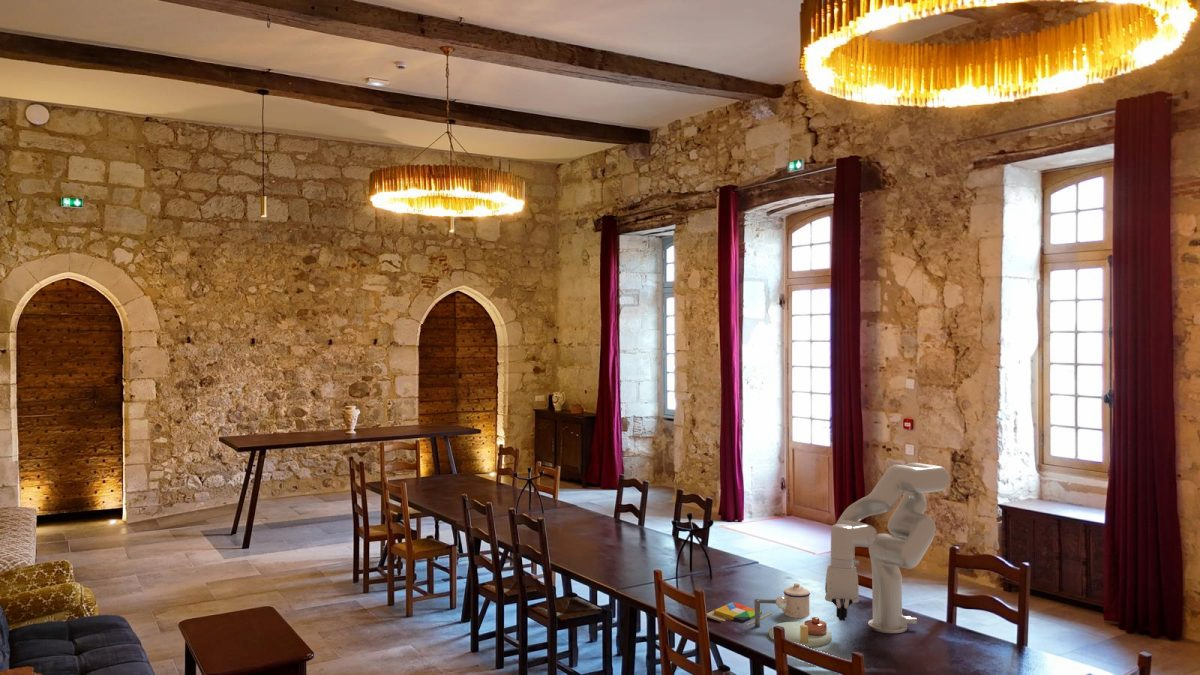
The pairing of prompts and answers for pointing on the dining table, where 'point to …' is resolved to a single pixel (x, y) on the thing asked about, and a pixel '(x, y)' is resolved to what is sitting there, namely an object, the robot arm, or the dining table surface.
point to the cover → (816, 627)
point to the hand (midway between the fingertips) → (841, 619)
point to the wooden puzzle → (735, 613)
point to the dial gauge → (779, 602)
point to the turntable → (802, 634)
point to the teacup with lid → (796, 601)
